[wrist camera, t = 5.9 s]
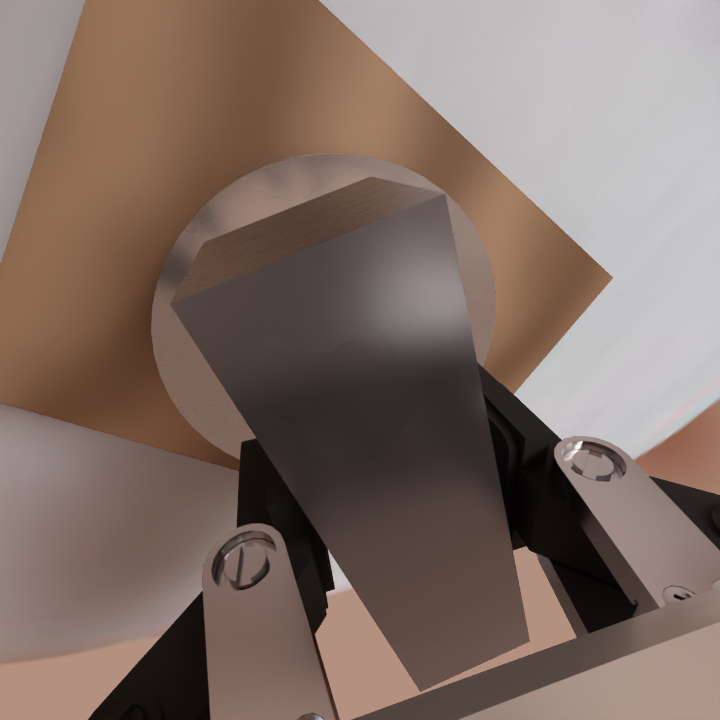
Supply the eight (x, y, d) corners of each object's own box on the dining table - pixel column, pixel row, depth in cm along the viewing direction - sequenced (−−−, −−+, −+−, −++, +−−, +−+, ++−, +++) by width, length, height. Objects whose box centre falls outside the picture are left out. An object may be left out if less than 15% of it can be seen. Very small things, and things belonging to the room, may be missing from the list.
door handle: (77, 237, 11) (-348, 447, 3) (445, 94, 12) (843, -21, 4) (277, 516, 19) (294, 793, 11) (499, 420, 19) (676, 616, 11)
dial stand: (-8, 369, 15) (-46, 401, 13) (159, -115, 10) (137, -174, 8) (392, 495, 24) (404, 525, 22) (580, 266, 19) (616, 278, 17)
